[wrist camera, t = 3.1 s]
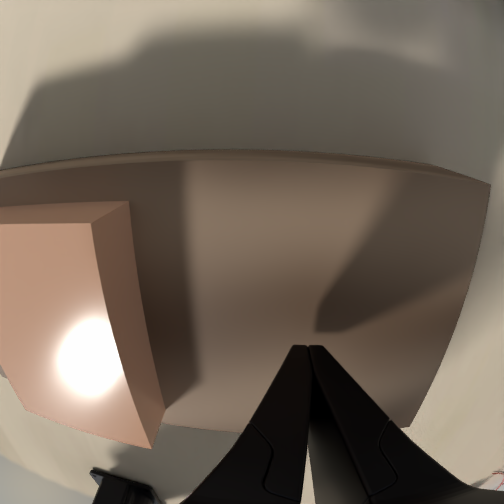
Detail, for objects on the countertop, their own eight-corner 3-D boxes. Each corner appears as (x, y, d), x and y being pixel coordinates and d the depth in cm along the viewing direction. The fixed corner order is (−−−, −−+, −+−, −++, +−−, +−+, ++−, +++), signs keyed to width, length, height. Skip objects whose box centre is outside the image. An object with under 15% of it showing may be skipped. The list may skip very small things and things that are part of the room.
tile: (165, 409, 11) (151, 449, 9) (46, 381, 11) (25, 409, 9) (129, 200, 8) (90, 223, 6) (-9, 207, 8) (-48, 225, 6)
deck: (388, 367, 14) (409, 426, 11) (37, 336, 16) (2, 376, 12) (432, 164, 11) (490, 184, 7) (-2, 170, 12) (-59, 189, 8)
